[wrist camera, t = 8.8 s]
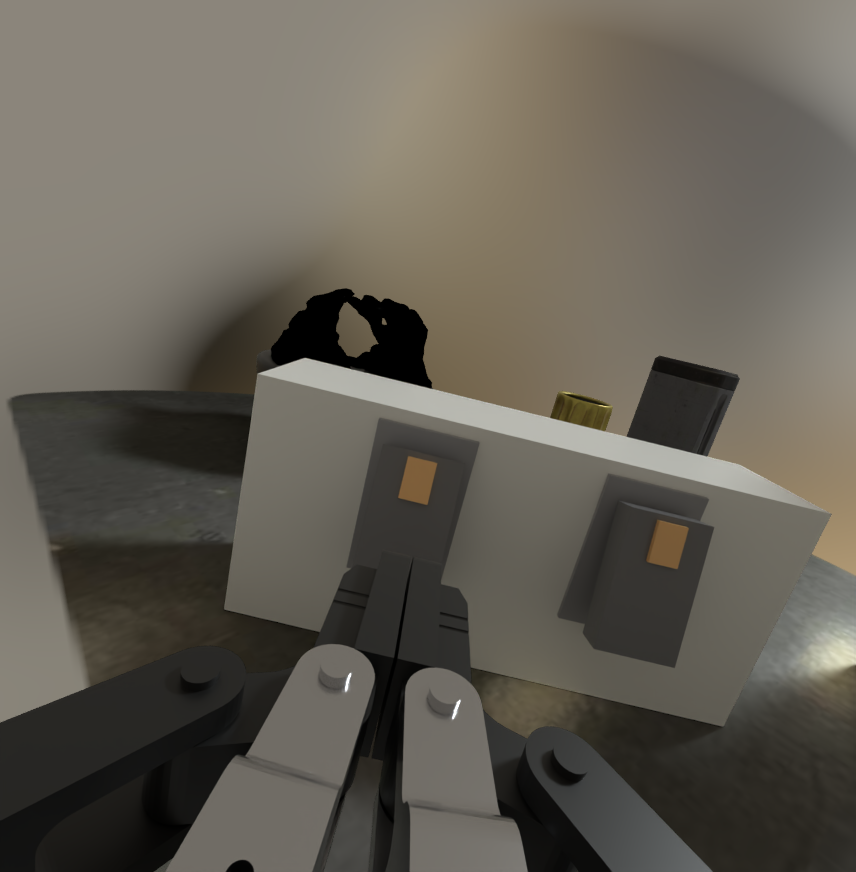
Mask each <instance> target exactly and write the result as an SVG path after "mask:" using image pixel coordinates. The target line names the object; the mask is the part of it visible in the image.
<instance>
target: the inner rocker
mask: <svg viewBox="0 0 856 872" xmlns="http://www.w3.org/2000/svg"><path fill="white" fill-rule="evenodd" d="M713 531H714V527H713V526H711V525H708V524H706V523H703V522H701V521H698V520H696V519H693V518H688V517H684V516H680V515H676V514H672V513H668V512H664V511H660V510H655V509H651V508H647V507H643V506H639V505H635V504H631V503H627V502H623V501H618V503H617V507H616V511H615V514H614V518H613V522H612V525H611V529H610V533H609V536H608V540H607V544H606V548H605V551H604V555H603V559H602V562H601V566H600V570H599V574H598V577H597V581H596V585H595V588H594V592H593V596H592V600H591V603H590V607H589V611H588V614H587V618H586V622H585V626H584V629H583V634H584V636H585V637H586V639H587V640H588V642H589V643H590V644H591V646H592V647H593V649H596V650H600V651H604V652H609V653H613V654H617V655H621V656H626V657H630V658H634V659H638V660H642V661H647V662H651V663H655V664H659V665H664V666H668V667H672V668H675V665H676V662H677V658H678V655H679V651H680V648H681V644H682V641H683V637H684V634H685V630H686V626H687V623H688V619H689V616H690V612H691V609H692V605H693V602H694V598H695V594H696V591H697V587H698V584H699V580H700V577H701V573H702V570H703V566H704V563H705V559H706V555H707V552H708V548H709V545H710V541H711V538H712V534H713Z"/></svg>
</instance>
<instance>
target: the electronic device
mask: <svg viewBox="0 0 856 872" xmlns="http://www.w3.org/2000/svg"><path fill="white" fill-rule="evenodd" d="M738 382H739V377H738V375H737V374H733V373H729V372H726V371H722V370H717V369H713V368H709V367H705V366H701V365H697V364H692V363H688V362H684V361H680V360H676V359H671V358H667V357H663V356H658V357H657V358H655V361H654V363H653V366H652V370H651V372H650V374H649V377H648V380H647V383H646V385H645V388H644V391H643V394H642V396H641V399H640V402H639V404H638V407H637V410H636V412H635V415H634V418H633V421H632V423H631V426H630V429H629V432H628V434H627V437H629V438H633V439H637V440H641V441H645V442H649V443H654V444H658V445H662V446H666V447H670V448H674V449H678V450H682V451H686V452H690V453H694V454H698V455H702V456H706V457H707V456H708V453H709V451H710V449H711V446H712V444H713V441H714V439H715V437H716V434H717V432H718V429H719V427H720V425H721V422H722V420H723V417H724V415H725V412H726V411H727V408H728V405H729V403H730V401H731V398H732V396H733V394H734V391H735V389H736V386H737V384H738Z"/></svg>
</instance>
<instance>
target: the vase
mask: <svg viewBox="0 0 856 872" xmlns="http://www.w3.org/2000/svg"><path fill="white" fill-rule="evenodd" d="M612 408H613V407H612V406H611V405H610V404H608V403H605V402H603V401H600V400H597V399H594V398H590V397H587V396H583V395H579V394H575V393H571V392H565V391H559V392H558V394H557V398H556V401H555V404H554V407H553V411H552V414H551V417H550V418H552V419H556V420H560V421H564V422H568V423H572V424H576V425H580V426H584V427H588V428H592V429H597V430H601V431H605V430H606V427H607V424H608V421H609V419H610V416H611V412H612Z"/></svg>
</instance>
